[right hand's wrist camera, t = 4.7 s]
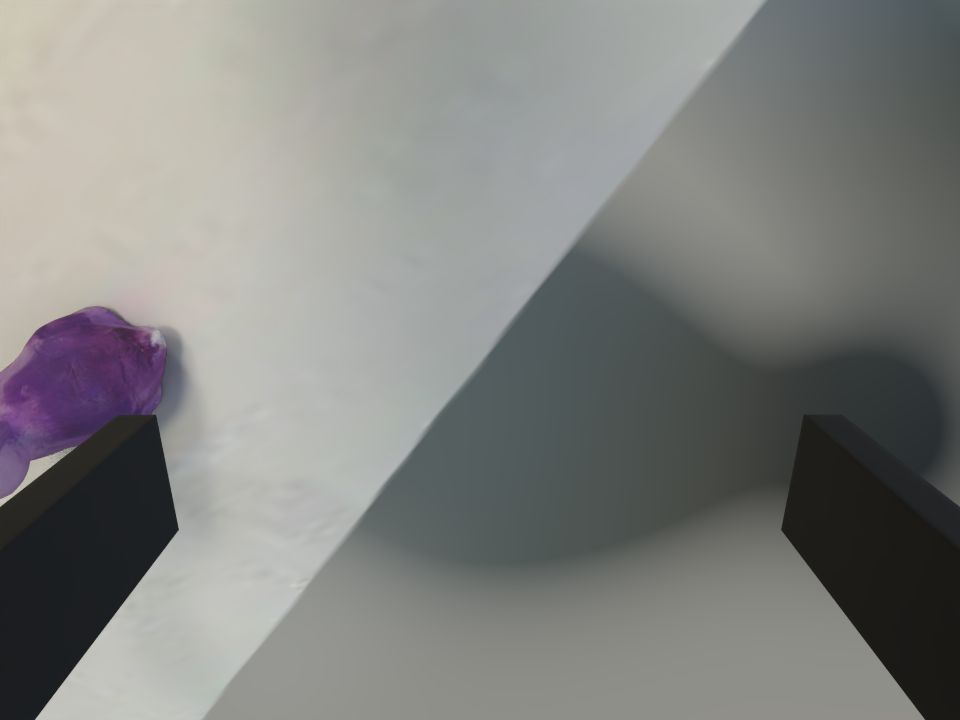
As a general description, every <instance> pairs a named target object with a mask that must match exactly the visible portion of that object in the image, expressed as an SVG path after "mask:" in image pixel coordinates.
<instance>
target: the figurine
mask: <svg viewBox="0 0 960 720" xmlns="http://www.w3.org/2000/svg"><path fill="white" fill-rule="evenodd" d="M166 353H167V345H166V341H165V339H164V336H163V335H162V333H161V332H160V331H159V330H158V329H157V328H155V327H153V326H145V327H133V326H130V325H129V324H127V323H126V322H125V321H122V320H120V319H119V318H118V317H116V316H115V315H114V314H113V313H112V312H111V311H110V310H108V309H106V308H104V307H100V306H94V307H86V308H84V309H81V310H79V311H77V312H75V313H73V314H71V315H68V316H65V317H62V318H59V319H57V320H54V321H52V322H50V323H48V324H46V325H44V326H42V327H41V328H39V329H38V330H37V331H36V332H35V333H34V334H33V335H32V337H31V338H30V339H29V341H28V342H27V344H26V345H25V347H24V349H23V351H22V352H21V354H20V355H19V356H18V357H17V359H16V360H15V361H14V362H13V363H11V364H10V365H9V366H8V367H6V368H5V369H4V370H3V371H2V372H0V499H1V498H4V497H6V496H8V495H10V494H12V493H13V492H14V491H15V490H16V489H17V488H18V486H19V485H20V484H21V483H22V482H23V480H24V478H25V476H26V474H27V472H28V469H29V464H30V461H31V460H35V459H39V458H42V457H45V456H49V455H52V454H54V453H57V452H59V451H62V450H64V449H66V448H70V447H75V446H79V445H80V444H82V443H83V442H84V441H85V440H87V439H88V438H89V437H90V436H92V435H93V434H94V433H96V432H97V431H98V430H99V429H101V428H102V427H103V426H105V425H106V424H107V423H108V422H110V421H111V420H112V419H114V418H115V417H116V416H117V415H150V414H151V413H152V412H153V411H154V409H155V408H156V407H157V406H158V405H159V403H160V402H161V399H162V387H161V385H160V383H161V381H162V378H163V374H164V369H165V360H166Z"/></svg>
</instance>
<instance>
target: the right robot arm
mask: <svg viewBox="0 0 960 720" xmlns="http://www.w3.org/2000/svg"><path fill="white" fill-rule="evenodd" d="M178 530H179V528H178V523H177V518H176V513H175V508H174V503H173V498H172V493H171V488H170V483H169V478H168V473H167V468H166V463H165V458H164V453H163V448H162V443H161V437H160V432H159V427H158V422H157V417H156V415H117V416H116V417H115V418H114V419H112V420H111V421H110V422H108V423H107V424H106V425H105V426H103V427H102V428H101V429H99V430H98V431H97V432H96V433H94V434H93V435H92V436H90V437H89V438H88V439H87V440H85V441H84V442H83V443H82V444H80V445H79V446H78V447H76V448H75V449H74V450H73V451H71V452H70V453H69V454H67V455H66V456H65V457H64V458H62V459H61V460H60V461H58V462H57V463H56V464H55V465H53V466H52V467H51V468H49V469H48V470H47V471H46V472H44V473H43V474H42V475H41V476H39V477H38V478H37V479H35V480H34V481H33V482H32V483H30V484H29V485H28V486H26V487H25V488H24V489H23V490H21V491H20V492H19V493H17V494H16V495H15V496H14V497H12V498H11V499H10V500H9V501H7V502H6V503H5V504H3V505H2V506H1V507H0V720H35V719H36V717H37V716H38V715H39V714H40V712H41V711H42V710H43V708H44V707H45V706H46V704H47V703H48V702H49V700H50V699H51V698H52V696H53V695H54V694H55V692H56V691H57V690H58V688H59V687H60V686H61V685H62V683H63V682H64V681H65V679H66V678H67V677H68V675H69V674H70V673H71V671H72V670H73V669H74V667H75V666H76V665H77V663H78V662H79V661H80V659H81V658H82V657H83V655H84V654H85V653H86V652H87V650H88V649H89V648H90V646H91V645H92V644H93V642H94V641H95V640H96V638H97V637H98V636H99V634H100V633H101V632H102V630H103V629H104V628H105V626H106V625H107V624H108V623H109V621H110V620H111V619H112V617H113V616H114V615H115V613H116V612H117V611H118V609H119V608H120V607H121V605H122V604H123V603H124V601H125V600H126V599H127V597H128V596H129V595H130V593H131V592H132V591H133V590H134V588H135V587H136V586H137V584H138V583H139V582H140V580H141V579H142V578H143V576H144V575H145V574H146V572H147V571H148V570H149V568H150V567H151V566H152V564H153V563H154V562H155V561H156V559H157V558H158V557H159V555H160V554H161V553H162V551H163V550H164V549H165V547H166V546H167V545H168V543H169V542H170V541H171V539H172V538H173V537H174V535H175V534H176V533H177V531H178ZM781 530H782V531H783V533H784V534H785V535H786V537H787V538H788V539H789V541H790V542H791V543H792V545H793V546H794V547H795V549H796V550H797V551H798V553H799V554H800V555H801V557H802V558H803V559H804V560H805V562H806V563H807V564H808V566H809V567H810V568H811V570H812V571H813V572H814V574H815V575H816V576H817V578H818V579H819V580H820V582H821V583H822V584H823V586H824V587H825V588H826V590H827V591H828V592H829V593H830V595H831V596H832V597H833V599H834V600H835V601H836V603H837V604H838V605H839V607H840V608H841V609H842V611H843V612H844V613H845V615H846V616H847V617H848V619H849V620H850V621H851V623H852V624H853V625H854V626H855V628H856V629H857V630H858V632H859V633H860V634H861V636H862V637H863V638H864V640H865V641H866V642H867V644H868V645H869V646H870V648H871V649H872V650H873V652H874V653H875V654H876V656H877V657H878V658H879V659H880V661H881V662H882V663H883V665H884V666H885V667H886V669H887V670H888V671H889V673H890V674H891V675H892V677H893V678H894V679H895V681H896V682H897V683H898V685H899V686H900V687H901V688H902V690H903V691H904V692H905V694H906V695H907V696H908V698H909V699H910V700H911V702H912V703H913V704H914V706H915V707H916V708H917V710H918V711H919V712H920V713H921V715H922V716H923V717H924V719H925V720H960V507H959V506H958V505H957V504H955V503H954V502H953V501H951V500H950V499H949V498H948V497H946V496H945V495H944V494H942V493H941V492H940V491H939V490H937V489H936V488H935V487H934V486H932V485H931V484H930V483H928V482H927V481H926V480H925V479H923V478H922V477H921V476H919V475H918V474H917V473H916V472H914V471H913V470H912V469H910V468H909V467H908V466H907V465H905V464H904V463H903V462H901V461H900V460H899V459H898V458H896V457H895V456H894V455H893V454H891V453H890V452H889V451H887V450H886V449H885V448H884V447H882V446H881V445H880V444H878V443H877V442H876V441H875V440H873V439H872V438H871V437H869V436H868V435H867V434H866V433H864V432H863V431H862V430H861V429H859V428H858V427H857V426H855V425H854V424H853V423H852V422H850V421H849V420H848V419H846V418H845V417H844V416H843V415H804V417H803V422H802V427H801V433H800V437H799V443H798V448H797V453H796V458H795V463H794V468H793V473H792V478H791V483H790V488H789V493H788V498H787V503H786V508H785V513H784V518H783V523H782V528H781Z"/></svg>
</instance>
